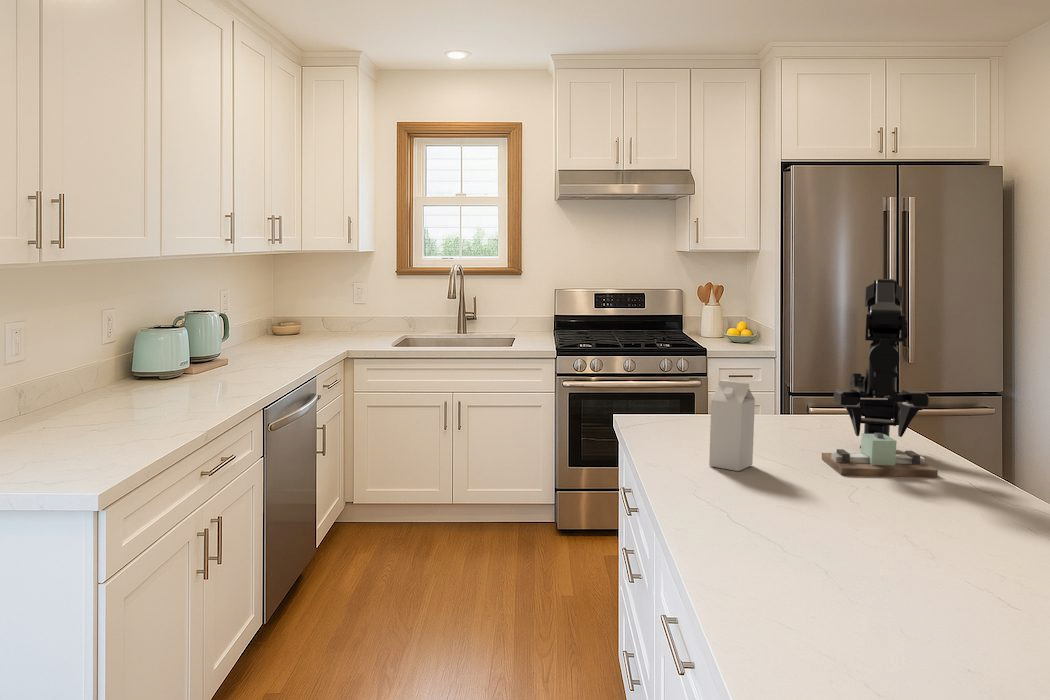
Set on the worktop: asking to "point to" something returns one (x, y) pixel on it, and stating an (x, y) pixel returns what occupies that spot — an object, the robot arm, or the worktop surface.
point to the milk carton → (732, 426)
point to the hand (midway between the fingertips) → (878, 436)
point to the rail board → (860, 465)
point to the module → (879, 448)
